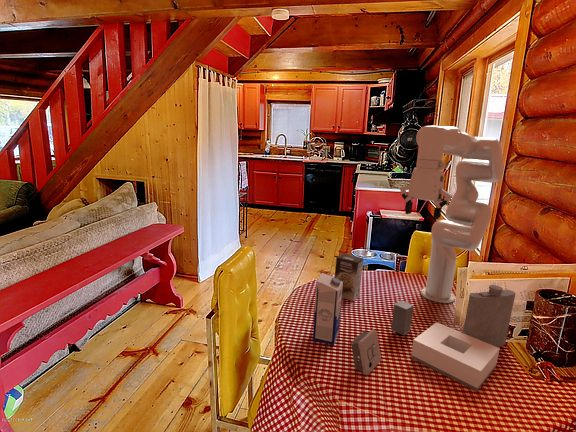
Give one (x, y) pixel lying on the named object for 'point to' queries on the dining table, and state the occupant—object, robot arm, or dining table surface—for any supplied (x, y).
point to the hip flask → (489, 315)
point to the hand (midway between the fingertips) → (421, 216)
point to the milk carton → (327, 309)
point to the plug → (402, 317)
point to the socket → (455, 355)
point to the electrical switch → (366, 351)
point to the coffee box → (349, 275)
